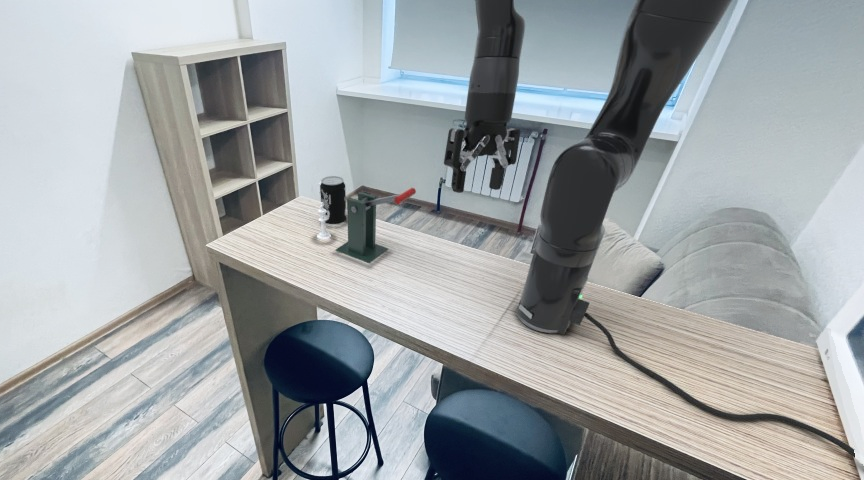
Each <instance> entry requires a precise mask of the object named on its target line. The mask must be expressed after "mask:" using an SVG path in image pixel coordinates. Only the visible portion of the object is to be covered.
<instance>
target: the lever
mask: <svg viewBox="0 0 864 480" xmlns="http://www.w3.org/2000/svg"><path fill="white" fill-rule="evenodd" d="M416 193H417V191H416V188H415V187H411V188H409V189H407V190H405V191H404V192H402V193H399V194H393V195H389V196H383V197H380V198H376V199H375V200H370V201H369V200H368V198H363V199H358V198H357V200H360V201H363V202H366V210H368V209H369V208H371V206H373V205H376V206H377V205H382V204H387V203H393V202H394V203H395V204H397V205H400V204H401V203H403V202H405V201H406V200H408V199H410V198H411V197H412V196H414V195H415V194H416Z"/></svg>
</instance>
